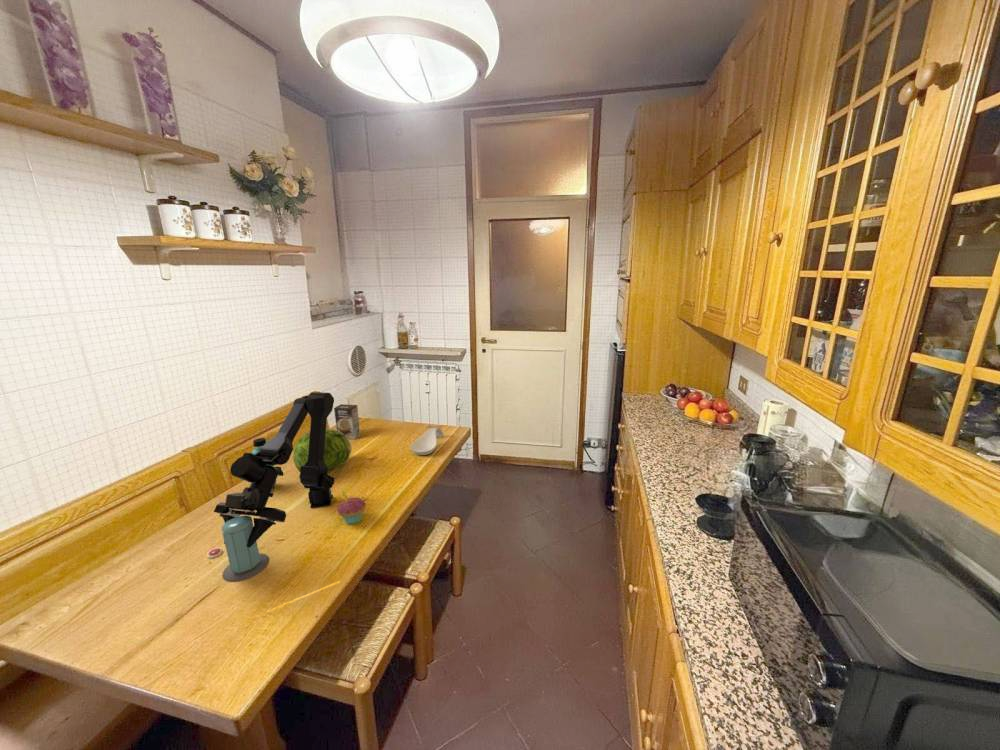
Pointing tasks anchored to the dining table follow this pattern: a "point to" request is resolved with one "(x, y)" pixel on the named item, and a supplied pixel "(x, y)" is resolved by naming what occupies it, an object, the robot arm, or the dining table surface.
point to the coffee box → (347, 420)
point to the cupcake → (351, 509)
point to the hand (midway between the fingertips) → (236, 545)
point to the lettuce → (334, 450)
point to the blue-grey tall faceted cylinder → (240, 544)
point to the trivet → (241, 576)
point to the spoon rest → (426, 442)
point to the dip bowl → (214, 552)
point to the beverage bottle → (259, 447)
